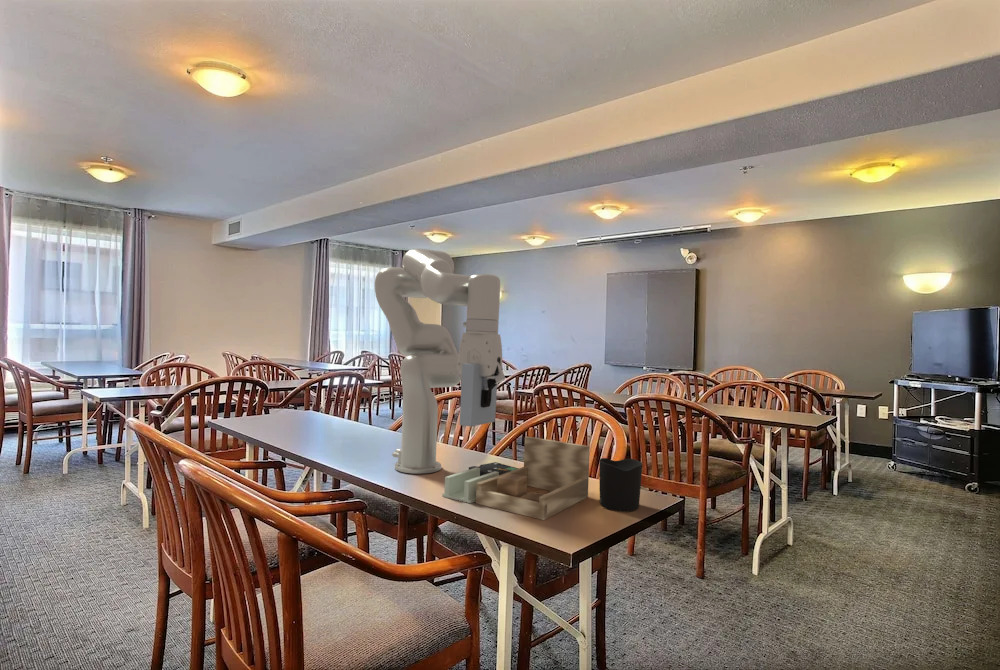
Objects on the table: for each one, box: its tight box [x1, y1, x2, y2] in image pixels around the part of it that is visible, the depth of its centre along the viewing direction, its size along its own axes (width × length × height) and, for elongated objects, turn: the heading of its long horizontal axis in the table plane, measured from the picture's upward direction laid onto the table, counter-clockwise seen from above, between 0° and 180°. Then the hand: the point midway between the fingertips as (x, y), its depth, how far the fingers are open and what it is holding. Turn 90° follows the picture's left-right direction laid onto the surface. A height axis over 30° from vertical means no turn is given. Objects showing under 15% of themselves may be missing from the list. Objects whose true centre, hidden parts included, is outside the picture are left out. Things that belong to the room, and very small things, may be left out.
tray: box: [475, 436, 591, 521], centre depth 127 cm, size 17×21×12 cm
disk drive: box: [468, 461, 520, 476], centre depth 145 cm, size 10×3×15 cm
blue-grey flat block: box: [459, 363, 498, 428], centre depth 130 cm, size 3×10×14 cm, turn 147°
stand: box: [441, 466, 499, 504], centre depth 130 cm, size 8×12×5 cm, turn 146°
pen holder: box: [598, 457, 643, 513], centre depth 125 cm, size 9×9×10 cm
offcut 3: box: [520, 491, 545, 502], centre depth 120 cm, size 5×5×3 cm
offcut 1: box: [497, 473, 528, 495], centre depth 124 cm, size 5×5×3 cm
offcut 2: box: [496, 489, 528, 498], centre depth 124 cm, size 5×5×3 cm
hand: (478, 405), depth 130 cm, fingers closed on blue-grey flat block, 3 cm apart
